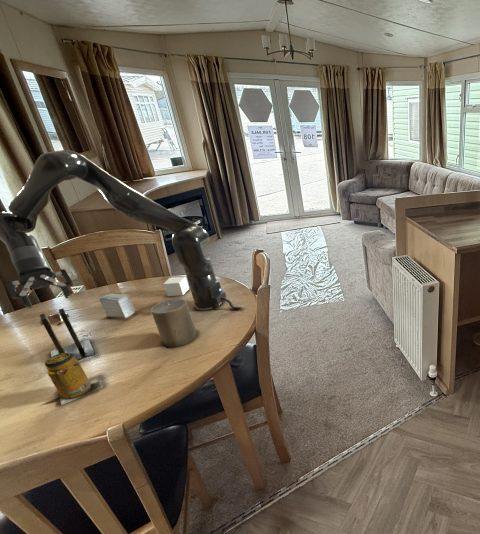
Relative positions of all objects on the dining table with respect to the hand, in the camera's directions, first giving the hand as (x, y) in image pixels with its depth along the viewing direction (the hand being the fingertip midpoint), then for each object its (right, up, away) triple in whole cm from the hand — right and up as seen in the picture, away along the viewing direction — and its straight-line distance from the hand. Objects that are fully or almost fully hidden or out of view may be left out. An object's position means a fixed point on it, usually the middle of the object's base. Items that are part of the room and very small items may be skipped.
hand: (49, 301), depth 115 cm
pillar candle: (+42, -14, +4) cm, 45 cm away
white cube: (+19, +1, +33) cm, 38 cm away
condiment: (+31, -23, -19) cm, 43 cm away
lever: (+12, -7, -8) cm, 16 cm away
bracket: (+15, -17, -6) cm, 23 cm away
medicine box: (+11, -7, +15) cm, 20 cm away
